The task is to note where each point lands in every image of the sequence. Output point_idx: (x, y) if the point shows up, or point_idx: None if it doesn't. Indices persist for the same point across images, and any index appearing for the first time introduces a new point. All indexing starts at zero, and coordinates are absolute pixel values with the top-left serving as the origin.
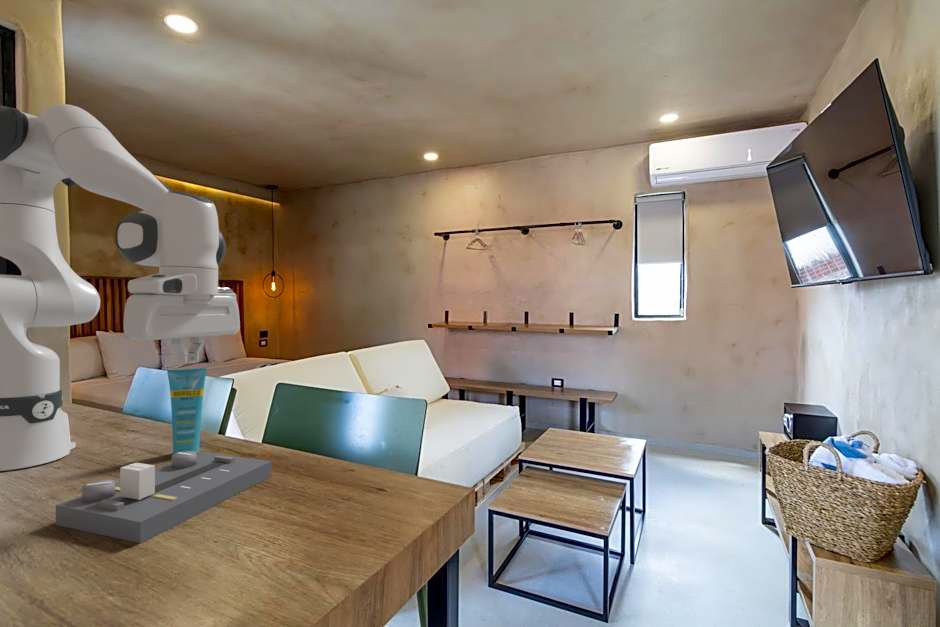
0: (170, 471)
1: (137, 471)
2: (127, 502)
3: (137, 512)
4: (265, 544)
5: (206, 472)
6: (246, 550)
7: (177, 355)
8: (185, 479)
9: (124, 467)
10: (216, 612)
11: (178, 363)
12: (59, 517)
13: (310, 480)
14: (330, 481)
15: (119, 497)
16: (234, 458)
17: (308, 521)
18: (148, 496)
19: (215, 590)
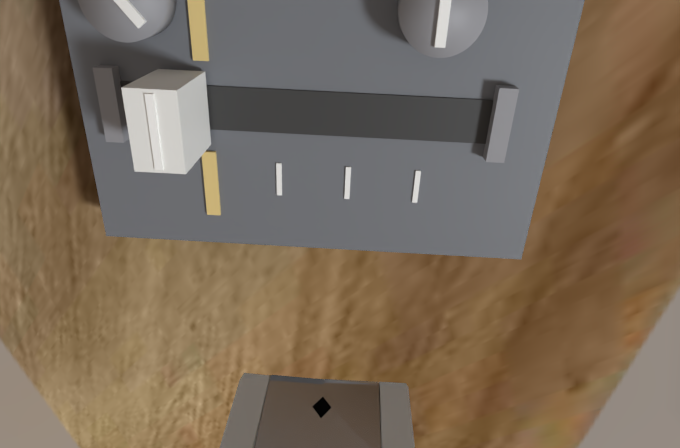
0: (370, 18)
1: (135, 161)
2: None
3: (130, 190)
4: (218, 395)
5: (392, 144)
6: (192, 382)
7: (225, 432)
8: (323, 133)
9: (129, 99)
10: (76, 426)
11: (247, 375)
12: None
13: (496, 333)
14: (497, 373)
15: (162, 60)
16: (502, 161)
17: None
18: None
19: (102, 402)
